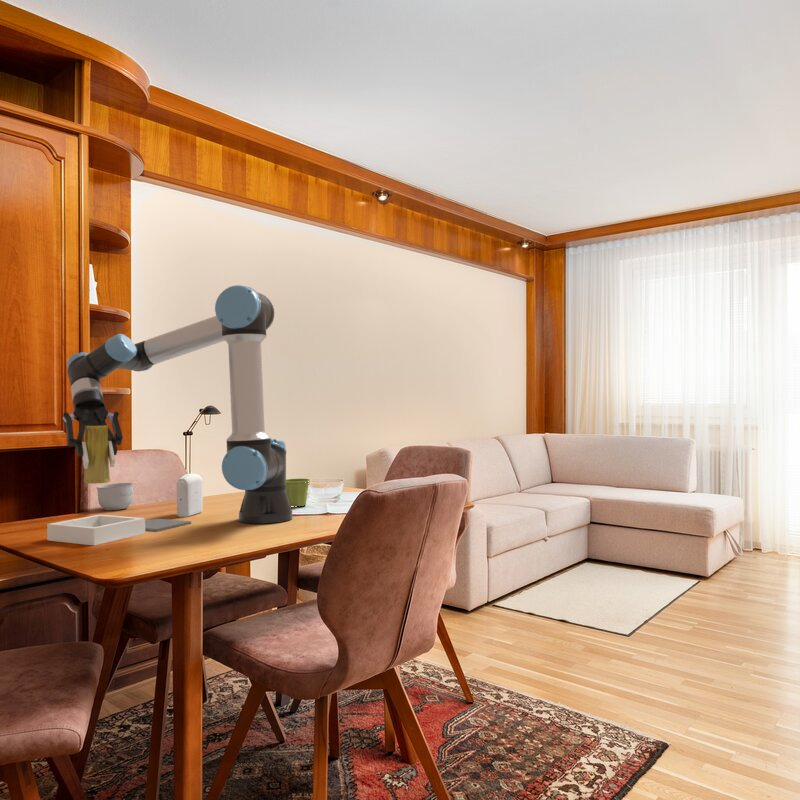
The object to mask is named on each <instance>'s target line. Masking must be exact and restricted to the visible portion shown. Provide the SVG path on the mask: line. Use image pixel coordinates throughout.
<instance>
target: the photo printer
mask: <svg viewBox="0 0 800 800" xmlns="http://www.w3.org/2000/svg"><path fill="white" fill-rule="evenodd" d="M203 491H204V490H203V478H202V476H201V475H199V474H197V473H186V474H183V476H181V477H180V478H179V479H178V480H177V483H176V516H177V517H179V518H188V517H190V516H194V515H196V514H200V513H202V512H203V511H204V510H203V509H204V507H203V506H204V502H203V501H204V499H203V498H204V497H203V495H204V494H203Z"/></svg>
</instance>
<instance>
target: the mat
mask: <svg viewBox="0 0 800 800" xmlns="http://www.w3.org/2000/svg"><path fill="white" fill-rule="evenodd" d="M190 524H192V521H191V520H189V521H188V520H178V519H176V520H175V519H166V518H152V519H145V532H146V531H148V532H160V531H164V530H169V529H174V528H178V527H182V526H187V525H190Z"/></svg>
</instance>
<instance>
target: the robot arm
mask: <svg viewBox="0 0 800 800" xmlns="http://www.w3.org/2000/svg"><path fill="white" fill-rule="evenodd" d="M214 312H215V315H214V316H211V317H207V318H206V319H202V320H200V321H197V322H194V323H192V324H191V323H190V324H188V325H186V326H183V327H180V328H177V329H174V330H171V331H168V332H165V333H162V334H159V335H157V336H153V337H151V338H148V339H146V340H142V341H140V342H137V343H134V342H133V341H132V340H131V338H130V337H128V336H126V335H125V334H122V333H118V334H115V335H113V336H111V337H110V338H108V339H107V340H106V341H105V342H103V343H102V344H100V345H99V346H98V347H96V348H95V349H94V350H92V351H91V352H84V351H81V352H79V353H74V354H72V355H71V356H70V357H69V358H68V359H67V365H66V367H67V370H66V371H67V376H68V380H69V384H70V385H69V386H70V391H71V400H72V406H73V412H72V413H68V412H64V413H63V415H62V422H63V423H64V425H65V431H66V441H67V442H66V443H67V446H68V447H69V448H72V447H75V450H76V455H77V457H79V458H82V465H83V469H84V470H85V469H88V463H89V460H88V454H87V448H86V442H85V441H84V438H85V426H108V425H107V423H106V420H107V419H108V420H109V423H111V428H112V431H113V432H112V431H111V428H110V427H109V426H108V456H109V468H114V467H115V464H116V463H115V462H116V457H115V456H117V453H118V447H117V446H121V445H122V444H123V434H122V429H121V426H120V422H119V415H120V413H119V412H118V411H114V412H113V413H112V412H109V411H108V410H107V409H106V405H105V400H104V395H103V390H102V385H101V380H102V379H104V378H105V377H107V376H109V375H110V374H111V373H113V372H114V371H116V370H127V371H133V372H144V371H148V370H150V369H151V368H152V367H153V366H154V365H157V364H160V363H163V362H165V361H166V362H167V361H169V360H172V359H175V358H178V357H181V356H184V355H187V354H189V353H192V352H196V351H199V350H201V349H204V348H207V347H210V346H213V345H216V344H219V343H222V342H224V341H225V342H226V343H227V345H228V368H229V391H230V392H229V393H230V415H231V418H230V419H231V434H230V435H229V436H228V437H227V439H226V453H225V455H224V456H223V459H222V462H221V471H222V472H221V473H222V476H223V478H224V479H225V481H226V482H227V483H228V484H229V485H230V486H231V487H233V488H235V489H236V490H237V489H238V490H241V491H244V495H243V499H242V501H241V504H240V509H239V511H238V521H239V522H241V523H247V524H275V523H282V522H287V521H291V520H293V508H291V506H290V503H289V500H288V497H287V494H286V479H287V448H286V442H285V441H284V440H282V439H277V438H271V436H270V435H269V434H268V433H267V432H266V431H265V429H266V427H265V411H264V410H265V409H264V406H265V405H264V388H263V387H264V385H263V364H262V362H263V361H262V343H263V341H264V340H265V339H266V338H267V330H268V329H269V328H270V327H271V326H272V324H273V322H274V319H275V308H274V305H273V303H272V301H271V300H270V299H269V298H268V297H267V296H266V295H264V294H262V293H260V292H258V291H257V290H255V289H254V288H252V287H250V286H247V285H246V286H245V285H242V284H241V285H238V284H237V285H236V284H235V285H232V286H229V287H227V288H225V289H224V290H223V291H221V293H219V295H218V296H217V299H216V301H215V304H214ZM74 420H76V421H77V422H78V423H80V427H79V430H78V435H77V438H76V439H75V435H74V428H73V421H74Z"/></svg>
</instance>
